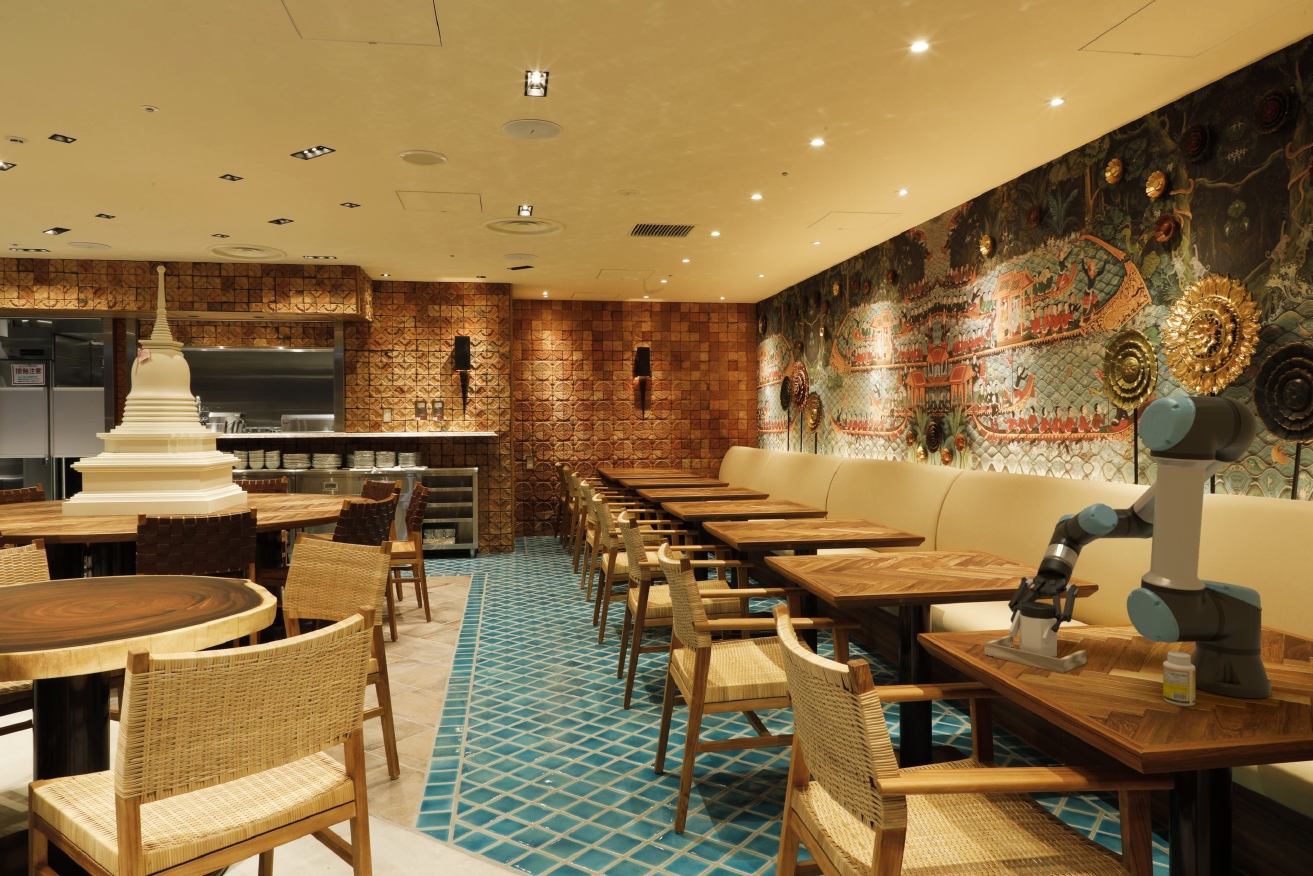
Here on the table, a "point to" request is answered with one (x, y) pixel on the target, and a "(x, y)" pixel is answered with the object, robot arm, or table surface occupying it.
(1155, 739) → the table surface
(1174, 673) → the supplement bottle
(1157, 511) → the robot arm
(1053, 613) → the jar
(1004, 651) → the corral
